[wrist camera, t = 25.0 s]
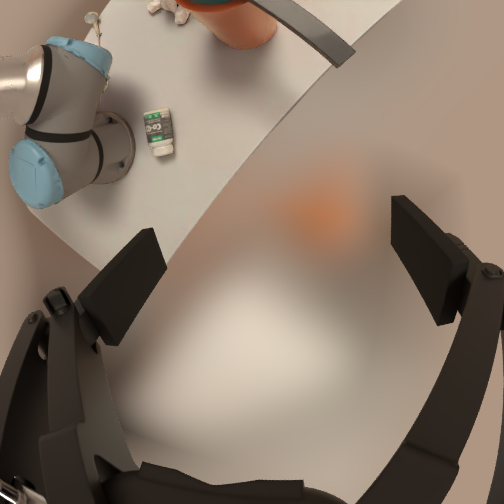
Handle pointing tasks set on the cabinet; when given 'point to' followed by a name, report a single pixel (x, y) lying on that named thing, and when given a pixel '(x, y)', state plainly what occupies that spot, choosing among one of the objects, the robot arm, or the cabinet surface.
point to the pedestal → (234, 22)
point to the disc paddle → (302, 27)
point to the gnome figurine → (169, 3)
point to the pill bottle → (159, 131)
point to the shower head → (92, 19)
